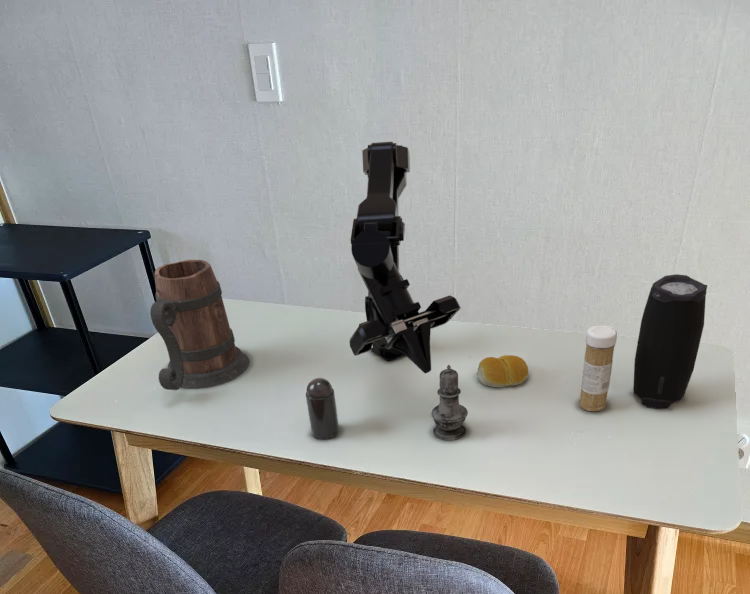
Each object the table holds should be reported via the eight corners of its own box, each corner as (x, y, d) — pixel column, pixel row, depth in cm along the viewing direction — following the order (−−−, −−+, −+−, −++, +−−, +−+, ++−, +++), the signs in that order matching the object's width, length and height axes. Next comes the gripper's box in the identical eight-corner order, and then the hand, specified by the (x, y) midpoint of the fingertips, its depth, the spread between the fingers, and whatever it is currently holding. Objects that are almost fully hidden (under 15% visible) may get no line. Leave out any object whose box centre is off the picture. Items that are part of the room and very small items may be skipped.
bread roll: (534, 384, 123) (535, 364, 121) (484, 391, 123) (485, 371, 120) (519, 363, 130) (520, 343, 127) (472, 370, 129) (472, 350, 127)
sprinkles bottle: (594, 396, 119) (603, 321, 110) (612, 407, 115) (624, 331, 107) (572, 403, 117) (580, 329, 109) (590, 415, 114) (600, 339, 106)
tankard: (188, 346, 147) (163, 251, 135) (262, 350, 143) (243, 252, 131) (131, 403, 130) (96, 300, 117) (213, 409, 125) (186, 302, 113)
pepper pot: (330, 421, 119) (323, 369, 113) (344, 433, 116) (337, 380, 110) (307, 431, 117) (298, 378, 111) (320, 442, 114) (312, 389, 108)
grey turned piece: (465, 442, 111) (466, 374, 103) (429, 440, 112) (426, 373, 105) (469, 422, 115) (469, 356, 108) (434, 420, 116) (432, 355, 109)
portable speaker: (642, 379, 122) (662, 269, 110) (695, 395, 116) (723, 280, 104) (618, 400, 117) (637, 286, 105) (673, 417, 112) (699, 300, 100)
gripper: (414, 294, 124) (453, 372, 123) (323, 324, 117) (363, 408, 116) (440, 261, 113) (482, 346, 113) (341, 292, 106) (386, 383, 105)
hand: (428, 372), depth 112 cm, fingers closed
